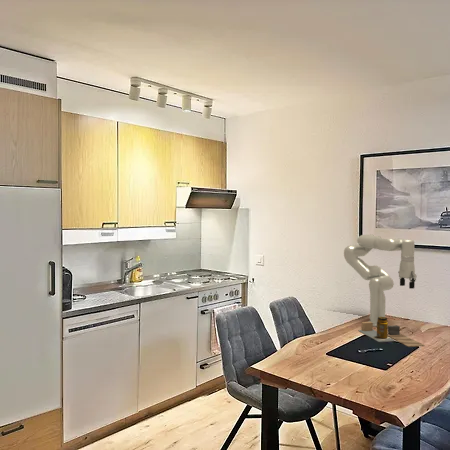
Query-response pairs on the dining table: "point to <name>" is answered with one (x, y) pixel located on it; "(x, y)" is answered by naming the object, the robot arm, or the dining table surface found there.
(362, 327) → the strip
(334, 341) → the dining table surface
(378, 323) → the condiment
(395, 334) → the strip empty
